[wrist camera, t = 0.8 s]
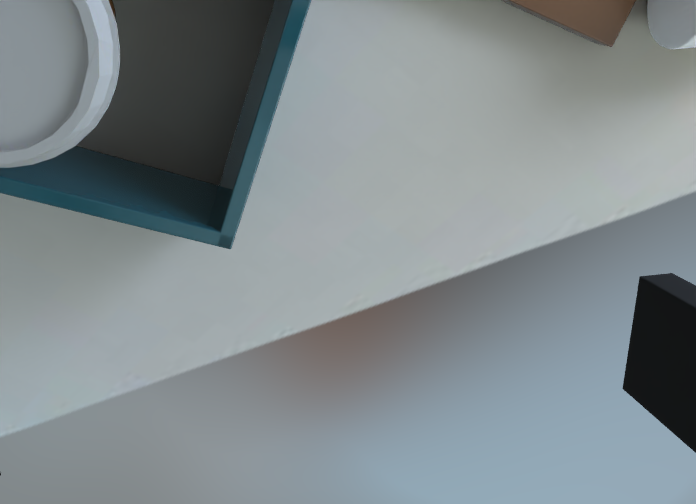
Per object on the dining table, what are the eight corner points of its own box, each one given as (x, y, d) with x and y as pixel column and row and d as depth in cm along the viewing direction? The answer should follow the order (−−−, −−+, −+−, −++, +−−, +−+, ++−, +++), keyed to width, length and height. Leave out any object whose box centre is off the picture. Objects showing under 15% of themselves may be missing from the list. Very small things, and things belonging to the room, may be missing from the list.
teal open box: (-220, -274, 24) (-371, -355, 18) (305, -49, 31) (328, -51, 25) (-225, 77, 29) (-343, 109, 23) (228, 200, 36) (231, 250, 30)
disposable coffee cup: (184, 54, 32) (169, 100, 22) (32, 137, 33) (-55, 222, 22) (70, -135, 28) (-18, -193, 17) (-105, -36, 28) (-297, -33, 18)
